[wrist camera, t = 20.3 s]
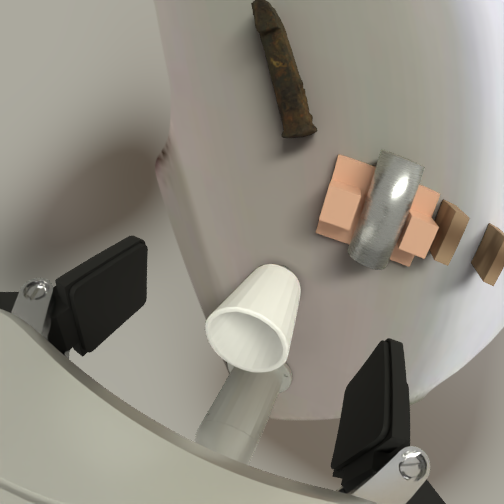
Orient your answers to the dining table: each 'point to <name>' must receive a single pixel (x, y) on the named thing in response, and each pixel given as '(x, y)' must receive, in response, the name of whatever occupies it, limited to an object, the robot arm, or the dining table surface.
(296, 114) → the hand tool
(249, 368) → the cup
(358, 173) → the cradle
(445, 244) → the channel block
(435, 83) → the dining table surface
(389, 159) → the axle
